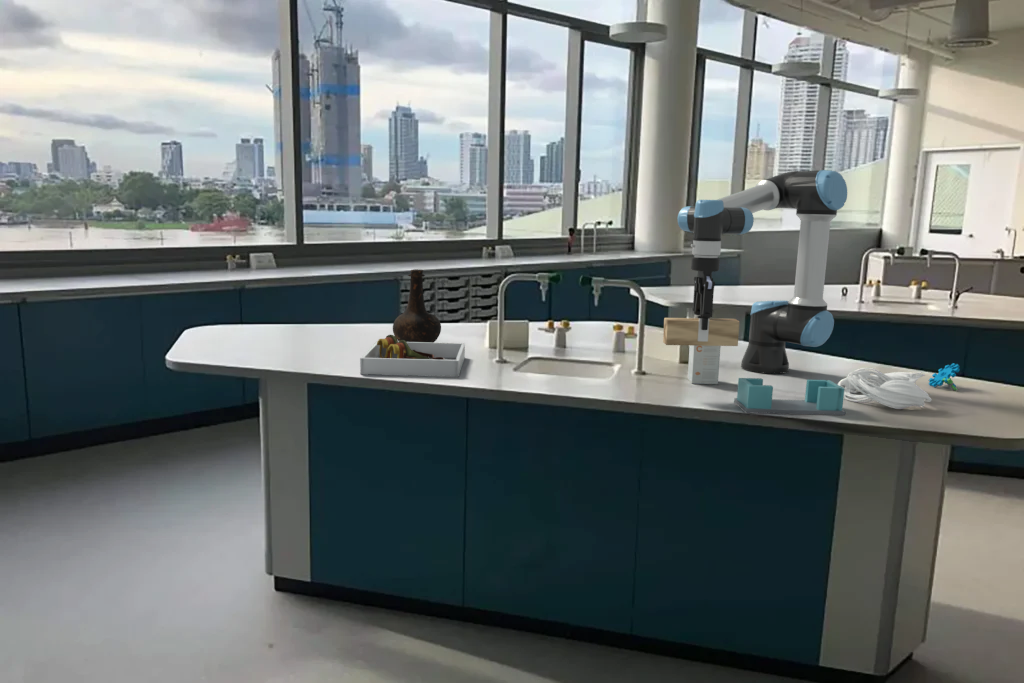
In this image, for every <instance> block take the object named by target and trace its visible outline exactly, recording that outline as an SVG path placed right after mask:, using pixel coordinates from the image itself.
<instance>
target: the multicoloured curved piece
mask: <svg viewBox="0 0 1024 683" xmlns="http://www.w3.org/2000/svg"><path fill="white" fill-rule="evenodd" d="M377 341H378V342H377ZM377 341H376V342H377V345H380V348H379V355H380V356H379V358H396V359H435V360H447V358H443V357H434V355H432V354H428V353H422V352H418V351H415V350H411V349H410V347H409V345H408V344H407V342H406V341H405V340H400V341H398V340H397V339H396V337H395V335H394V334H388V335H386V337H385V338H379V339H378V340H377Z"/></svg>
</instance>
